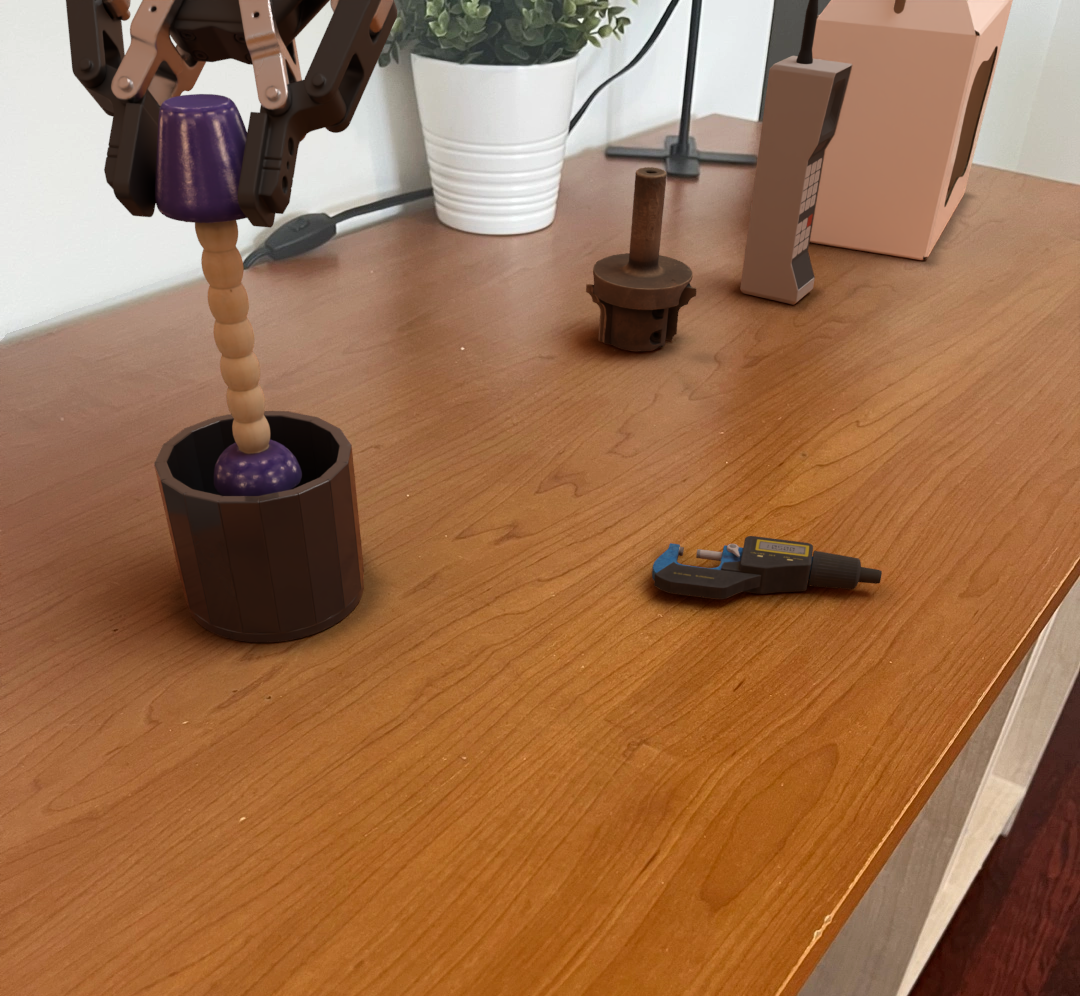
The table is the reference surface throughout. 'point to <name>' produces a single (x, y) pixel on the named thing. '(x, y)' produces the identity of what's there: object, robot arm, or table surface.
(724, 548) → the micrometer
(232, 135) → the toy lamp
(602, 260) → the industrial component
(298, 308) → the table surface
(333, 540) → the holder
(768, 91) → the vintage mobile phone
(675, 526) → the table surface
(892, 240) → the gable box
